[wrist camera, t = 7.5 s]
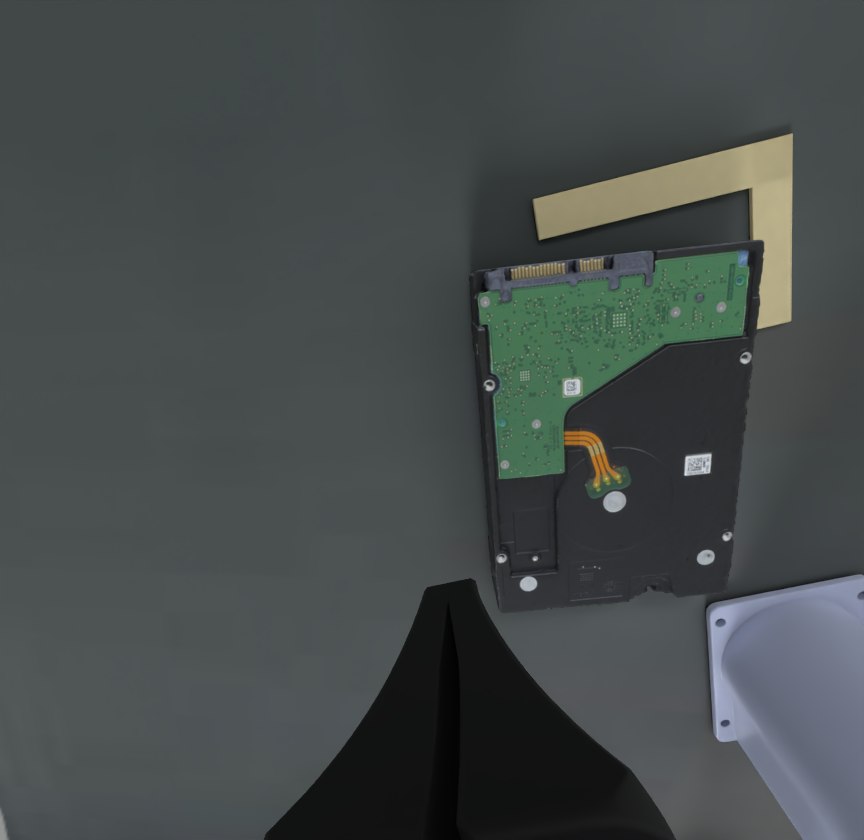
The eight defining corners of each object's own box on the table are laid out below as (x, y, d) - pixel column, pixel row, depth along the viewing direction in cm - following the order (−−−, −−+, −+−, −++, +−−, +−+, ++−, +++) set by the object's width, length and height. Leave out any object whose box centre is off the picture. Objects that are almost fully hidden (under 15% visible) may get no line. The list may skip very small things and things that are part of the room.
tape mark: (787, 320, 19) (791, 321, 19) (558, 373, 20) (559, 374, 19) (788, 134, 17) (792, 133, 17) (532, 199, 18) (533, 199, 17)
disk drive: (697, 555, 23) (722, 238, 18) (733, 593, 20) (773, 232, 15) (490, 578, 23) (461, 271, 18) (499, 619, 20) (467, 271, 16)
